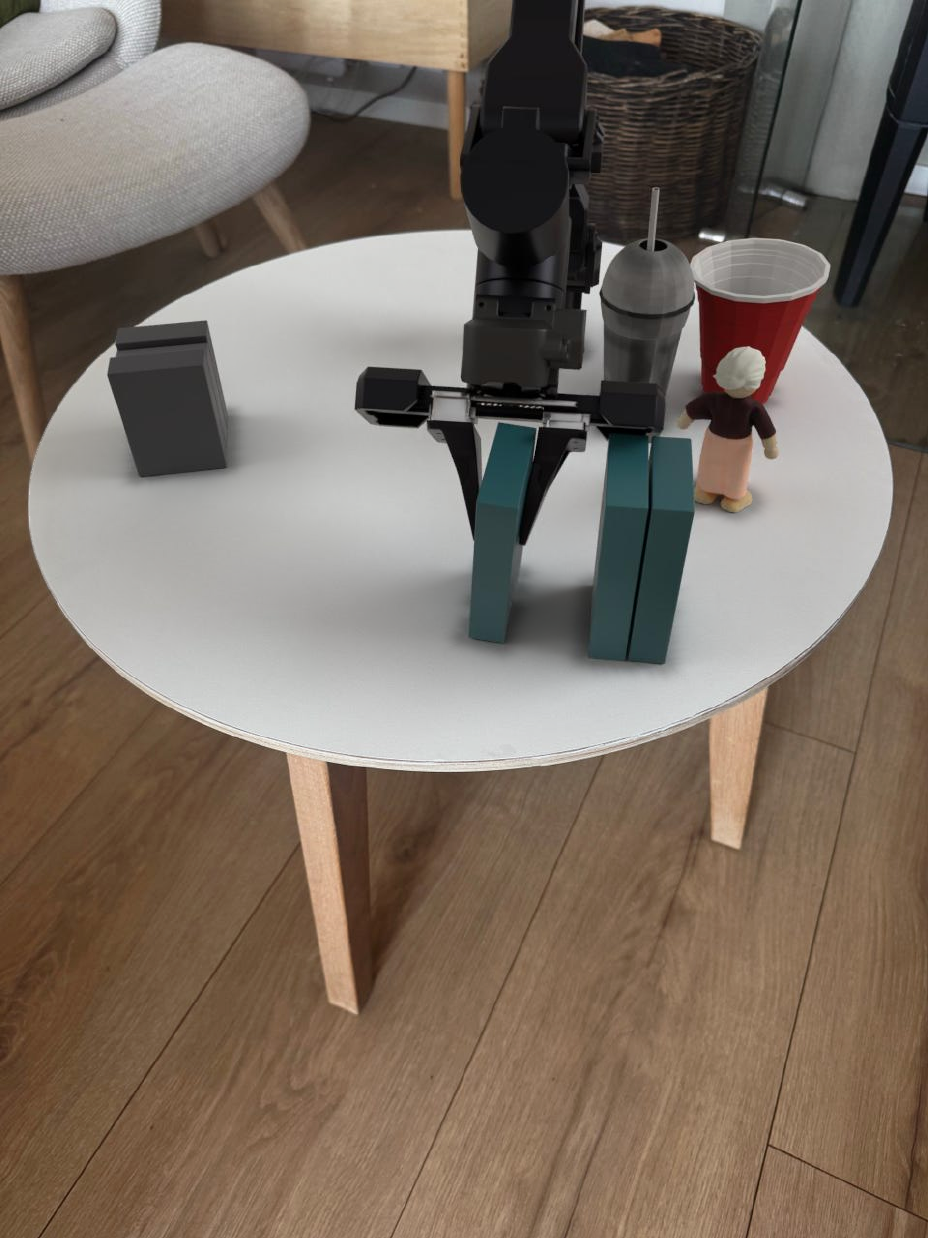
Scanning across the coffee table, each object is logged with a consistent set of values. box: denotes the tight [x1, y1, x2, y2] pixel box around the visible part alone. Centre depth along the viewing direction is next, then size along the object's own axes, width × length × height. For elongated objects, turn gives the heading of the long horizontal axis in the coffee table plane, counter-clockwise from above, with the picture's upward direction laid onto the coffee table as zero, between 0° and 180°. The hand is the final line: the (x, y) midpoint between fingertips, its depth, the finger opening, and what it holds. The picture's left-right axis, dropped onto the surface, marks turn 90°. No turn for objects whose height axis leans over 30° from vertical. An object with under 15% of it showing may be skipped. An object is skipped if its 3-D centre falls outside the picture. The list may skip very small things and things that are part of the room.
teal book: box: [468, 421, 538, 644], centre depth 64 cm, size 7×2×13 cm, turn 168°
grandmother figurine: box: [676, 346, 780, 513], centre depth 72 cm, size 8×4×13 cm, turn 71°
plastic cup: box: [689, 237, 831, 406], centre depth 82 cm, size 11×11×12 cm
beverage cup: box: [598, 187, 696, 395], centre depth 77 cm, size 7×7×20 cm
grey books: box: [106, 319, 229, 478], centre depth 79 cm, size 7×8×10 cm
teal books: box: [588, 433, 696, 665], centre depth 63 cm, size 7×5×13 cm
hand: (499, 543), depth 62 cm, fingers closed on teal book, 2 cm apart
